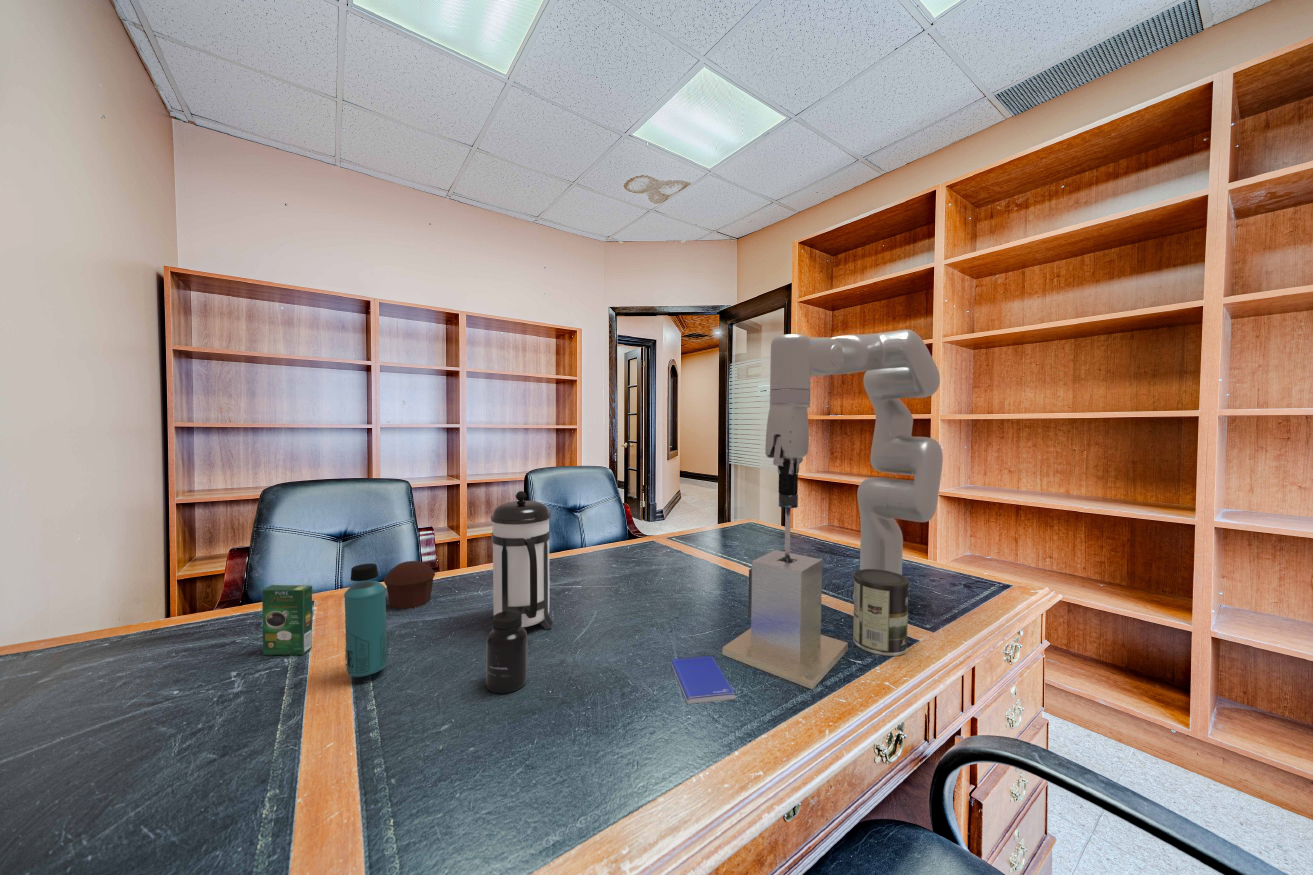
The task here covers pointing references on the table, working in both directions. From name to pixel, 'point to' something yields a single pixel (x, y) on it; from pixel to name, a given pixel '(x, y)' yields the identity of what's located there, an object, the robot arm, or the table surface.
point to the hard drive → (702, 680)
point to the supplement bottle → (506, 653)
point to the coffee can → (880, 612)
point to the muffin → (409, 584)
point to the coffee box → (287, 619)
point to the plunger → (788, 518)
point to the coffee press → (521, 560)
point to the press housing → (786, 621)
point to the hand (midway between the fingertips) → (787, 493)
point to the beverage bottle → (365, 623)
